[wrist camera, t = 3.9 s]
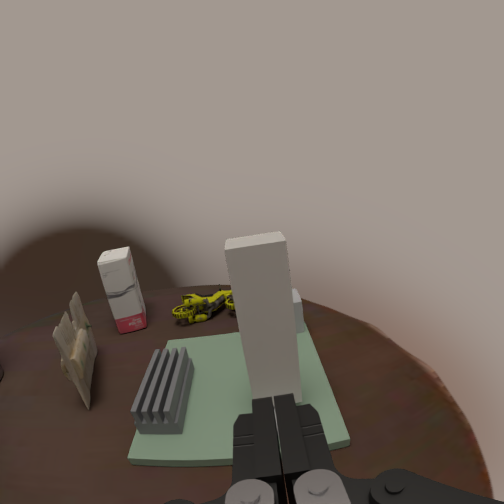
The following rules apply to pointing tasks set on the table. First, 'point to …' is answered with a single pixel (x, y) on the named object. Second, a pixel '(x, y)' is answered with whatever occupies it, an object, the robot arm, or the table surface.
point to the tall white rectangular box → (265, 313)
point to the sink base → (215, 399)
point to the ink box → (122, 289)
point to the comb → (77, 348)
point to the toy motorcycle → (203, 305)
